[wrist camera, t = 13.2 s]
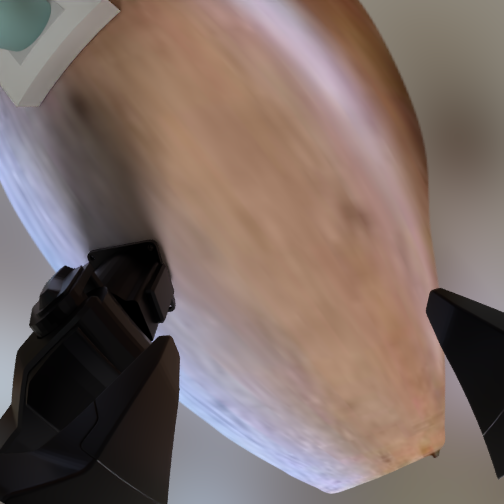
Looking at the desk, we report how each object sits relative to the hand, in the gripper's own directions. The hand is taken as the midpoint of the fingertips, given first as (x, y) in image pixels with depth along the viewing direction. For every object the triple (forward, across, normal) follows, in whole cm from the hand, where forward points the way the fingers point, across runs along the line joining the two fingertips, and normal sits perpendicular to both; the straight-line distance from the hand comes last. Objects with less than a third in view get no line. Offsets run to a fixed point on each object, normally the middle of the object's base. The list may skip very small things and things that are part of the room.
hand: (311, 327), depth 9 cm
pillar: (+10, +16, -19) cm, 27 cm away
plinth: (+13, +16, -20) cm, 28 cm away
